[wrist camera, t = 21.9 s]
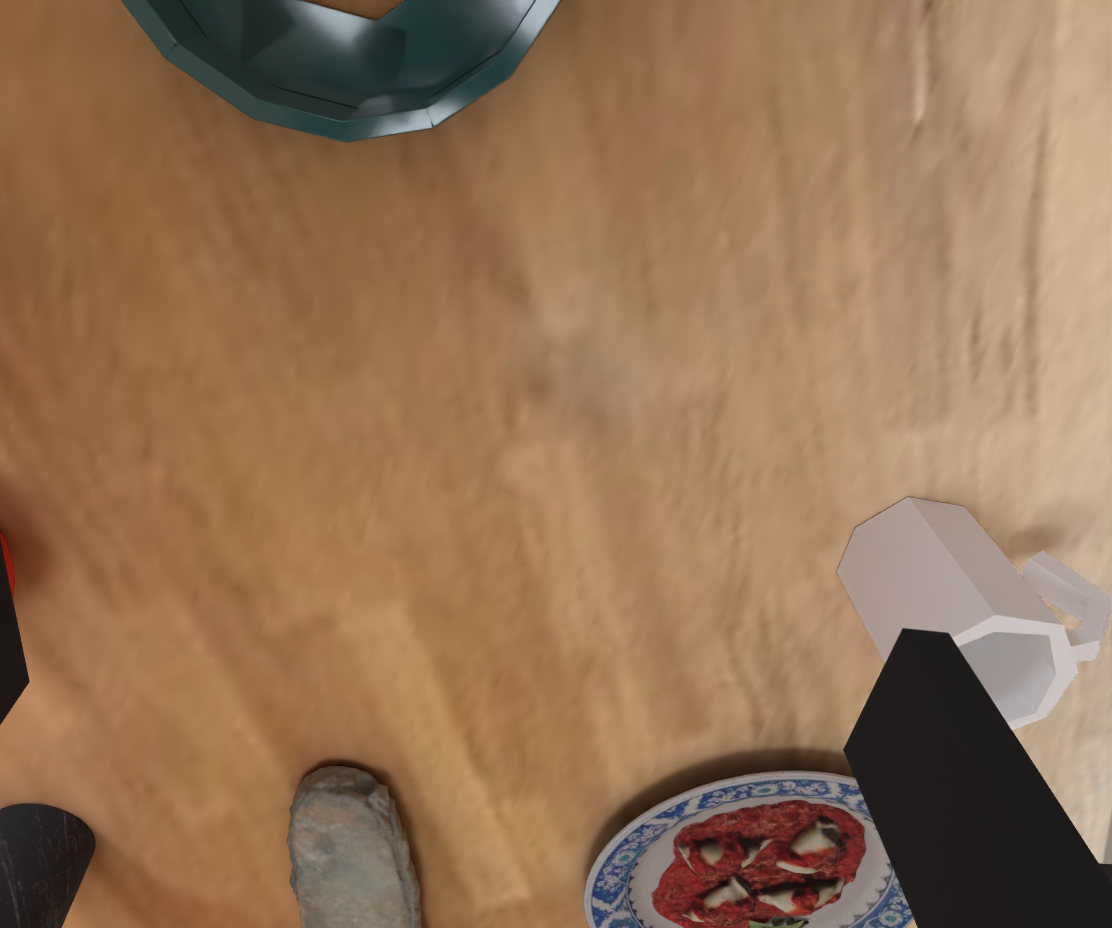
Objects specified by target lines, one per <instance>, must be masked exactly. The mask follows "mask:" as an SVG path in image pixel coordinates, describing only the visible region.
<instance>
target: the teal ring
mask: <svg viewBox="0 0 1112 928" xmlns="http://www.w3.org/2000/svg"><path fill="white" fill-rule="evenodd" d="M121 1H122V2H123V4H124V5H125V6H126V8H127V9H128V10H129V12H130V13H131V14H132V16H133V17H134V18H135V20H136V21H137V22H138V24H139V25H140V26H141V28H142V29H143V30H144V31H145V33H146V34H147V35H148V37H149V38H150V39H151V41H152V42H153V43H154V45H155V46H156V47H157V49H158V50H159V51H160V53H161V54H162V55H163V57H165V58H166V59H167V60H168V61H169V62H171V63H172V64H174V65H175V66H176V67H178V68H179V69H181V70H182V71H184V72H185V73H187V74H188V75H189V76H191V77H192V78H194V79H195V80H197V81H198V82H200V83H201V84H202V85H204V86H205V87H207V88H208V89H210V90H211V91H213V92H214V93H215V94H217V95H218V96H220V97H221V98H223V99H224V100H226V101H227V102H228V103H230V104H231V105H233V106H234V107H236V108H237V109H239V110H240V111H241V112H243V113H244V114H246V115H247V116H249V117H250V118H253V119H254V120H258V121H262V122H266V123H270V124H274V125H278V126H281V127H285V128H289V129H293V130H297V131H301V132H305V133H309V134H313V135H317V136H321V137H325V138H329V139H333V140H337V141H341V142H353V141H359V140H365V139H371V138H378V137H384V136H390V135H397V134H403V133H409V132H415V131H422V130H428V129H433V128H434V127H437V126H438V125H440V124H441V123H443V122H444V121H446V120H447V119H449V118H450V117H452V116H453V115H455V114H456V113H458V112H459V111H461V110H463V109H464V108H466V107H467V106H469V105H470V104H472V103H473V102H475V101H476V100H478V99H479V98H481V97H482V96H484V95H485V94H487V93H488V92H490V91H491V90H493V89H494V88H496V87H497V86H499V85H500V84H502V83H503V82H505V81H506V80H508V79H509V78H510V77H511V76H512V75H513V73H514V72H515V70H516V69H517V67H518V66H519V64H520V63H521V61H522V60H523V58H524V57H525V55H526V54H527V52H528V51H529V49H530V48H531V46H532V45H533V43H534V42H535V40H536V39H537V37H538V35H539V34H540V32H541V31H542V29H543V28H544V26H545V25H546V23H547V22H548V20H549V19H550V17H551V16H552V14H553V13H554V11H555V10H556V8H557V7H558V5H559V4H560V2H561V1H562V0H405V1H404V2H402V3H401V4H399V5H398V6H396V7H395V8H394V9H392V10H391V11H389V12H388V13H387V14H385V15H384V16H382V17H381V18H380V19H378V20H374V19H370V18H366V17H363V16H359V15H356V14H352V13H348V12H345V11H341V10H338V9H334V8H330V7H327V6H323V5H320V4H316V3H312V2H309V1H305V0H121Z"/></svg>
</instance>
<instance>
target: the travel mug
mask: <svg viewBox="0 0 1112 928" xmlns="http://www.w3.org/2000/svg"><path fill="white" fill-rule="evenodd" d="M94 849H95V839H94V836H93V834H92V832H91V831H90V829H89V828H88V827H87V826H86V825H85V824H84V823H83V822H82V821H80V820H79V819H78V818H76V817H75V816H73V815H71V814H69V813H67V812H64V811H62V810H59V809H56V808H53V807H49V806H43V805H35V804H21V805H14V806H10V807H6V808H4V809H1V810H0V928H62V926H63V923H64V921H65V919H66V916H67V914H68V912H69V909H70V907H71V905H72V902H73V900H74V898H75V896H76V893H77V891H78V889H79V886H80V884H81V882H82V879H83V877H84V875H85V872H86V870H87V868H88V865H89V863H90V860H91V858H92V855H93V852H94Z"/></svg>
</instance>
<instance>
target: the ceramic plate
mask: <svg viewBox="0 0 1112 928" xmlns="http://www.w3.org/2000/svg"><path fill="white" fill-rule="evenodd" d="M584 907H585V914H586V918H587V922H588V924H589V926H590V928H905V927H906V926H908V925H909V924H910V923H911V922H912V921H913V920H914V918H913V915H912V913H911V910H910V908H909V906H908V903H907V901H906V898H905V896H904V894H903V891H902V889H901V887H900V884H899V882H898V879H897V877H896V875H895V872H894V870H893V867H892V865H891V863H890V860H889V858H888V855H887V853H886V851H885V848H884V846H883V844H882V841H881V839H880V836H879V834H878V832H877V829H876V827H875V824H874V822H873V820H872V817H871V815H870V813H869V810H868V808H867V805H866V803H865V801H864V798H863V796H862V793H861V791H860V789H859V786H858V784H857V781H856V779H855V778H853V777H848V776H843V775H838V774H833V773H826V772H812V771H776V772H763V773H754V774H748V775H743V776H738V777H733V778H729V779H724V780H720V781H715V782H712V783H709V784H706V785H702V786H699V787H697V788H694V789H691V790H688V791H686V792H684V793H681V794H679V795H677V796H674V797H672V798H670V799H668V800H666V801H664V802H662V803H660V804H658V805H656V806H654V807H653V808H651V809H649V810H648V811H646V812H645V813H643V814H641V815H640V816H639V817H637V818H636V819H634V820H633V821H632V822H630V823H629V824H628V825H627V826H625V827H624V828H623V829H622V830H621V831H620V832H619V833H617V834H616V835H615V836H614V837H613V839H612V840H611V841H610V842H609V843H608V844H607V845H606V846H605V848H604V849H603V850H602V852H601V853H600V854H599V856H598V857H597V859H596V861H595V863H594V864H593V866H592V868H591V871H590V873H589V876H588V879H587V883H586V887H585V895H584Z"/></svg>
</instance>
